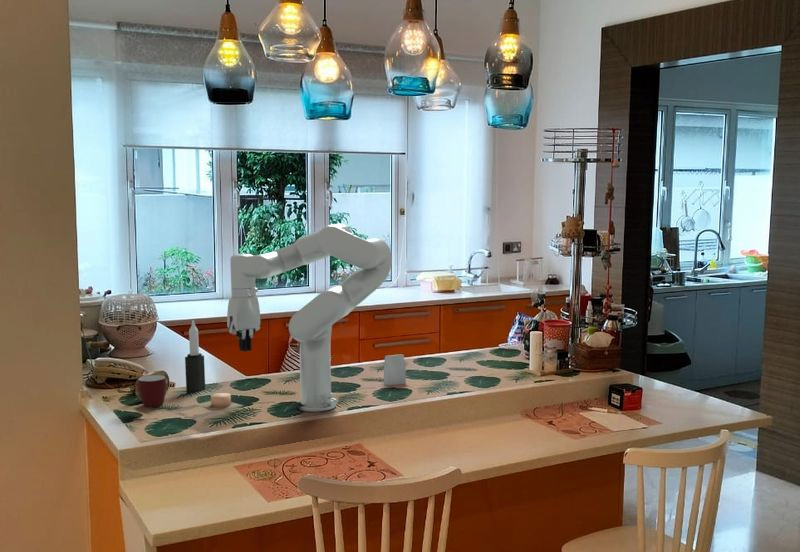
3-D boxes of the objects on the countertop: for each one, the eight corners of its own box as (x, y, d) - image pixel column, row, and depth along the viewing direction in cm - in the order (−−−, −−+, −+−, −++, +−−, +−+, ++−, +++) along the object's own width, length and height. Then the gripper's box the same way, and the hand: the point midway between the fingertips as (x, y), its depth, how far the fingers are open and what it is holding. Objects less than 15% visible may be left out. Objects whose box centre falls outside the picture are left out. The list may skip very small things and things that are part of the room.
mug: (138, 405, 249) (136, 375, 248) (164, 403, 252) (163, 372, 251) (141, 414, 239) (139, 382, 238) (168, 411, 242) (167, 379, 241)
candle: (185, 395, 261) (181, 321, 259) (194, 391, 266) (191, 318, 263) (198, 396, 260) (195, 321, 257) (206, 392, 264) (204, 319, 262)
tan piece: (244, 410, 242) (244, 405, 242) (194, 423, 229) (194, 418, 229) (219, 403, 251) (219, 398, 251) (169, 415, 238) (169, 410, 237)
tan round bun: (234, 404, 244) (234, 395, 243) (218, 408, 239) (218, 399, 239) (223, 401, 248) (222, 391, 247) (207, 405, 243) (206, 395, 243)
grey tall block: (405, 383, 274) (405, 355, 273) (387, 385, 272) (387, 357, 271) (401, 381, 278) (401, 353, 276) (383, 383, 275) (383, 355, 274)
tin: (141, 404, 251) (140, 378, 250) (133, 403, 252) (132, 377, 251) (170, 392, 265) (169, 368, 264) (163, 391, 266) (161, 367, 265)
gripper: (255, 289, 255) (257, 345, 257) (216, 294, 244) (218, 352, 246) (270, 291, 250) (272, 348, 252) (230, 296, 239) (232, 356, 241)
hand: (245, 350), depth 249 cm, fingers closed
